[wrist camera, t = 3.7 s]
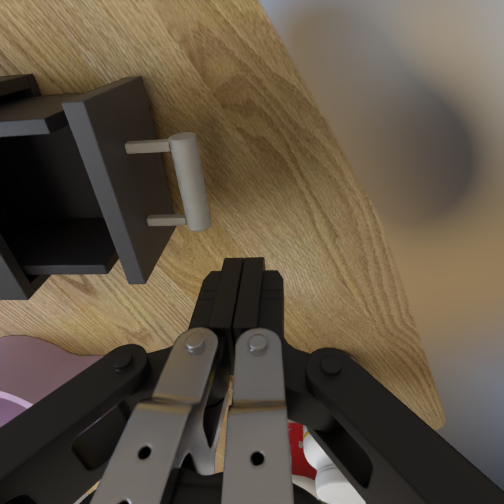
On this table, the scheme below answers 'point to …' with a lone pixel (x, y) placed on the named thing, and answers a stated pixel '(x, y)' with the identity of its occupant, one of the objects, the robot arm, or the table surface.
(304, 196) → the table surface
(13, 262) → the dark grey drawer box
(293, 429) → the pill bottle
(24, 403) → the clip
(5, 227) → the dark brown drawer
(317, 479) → the supplement bottle
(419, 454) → the robot arm
